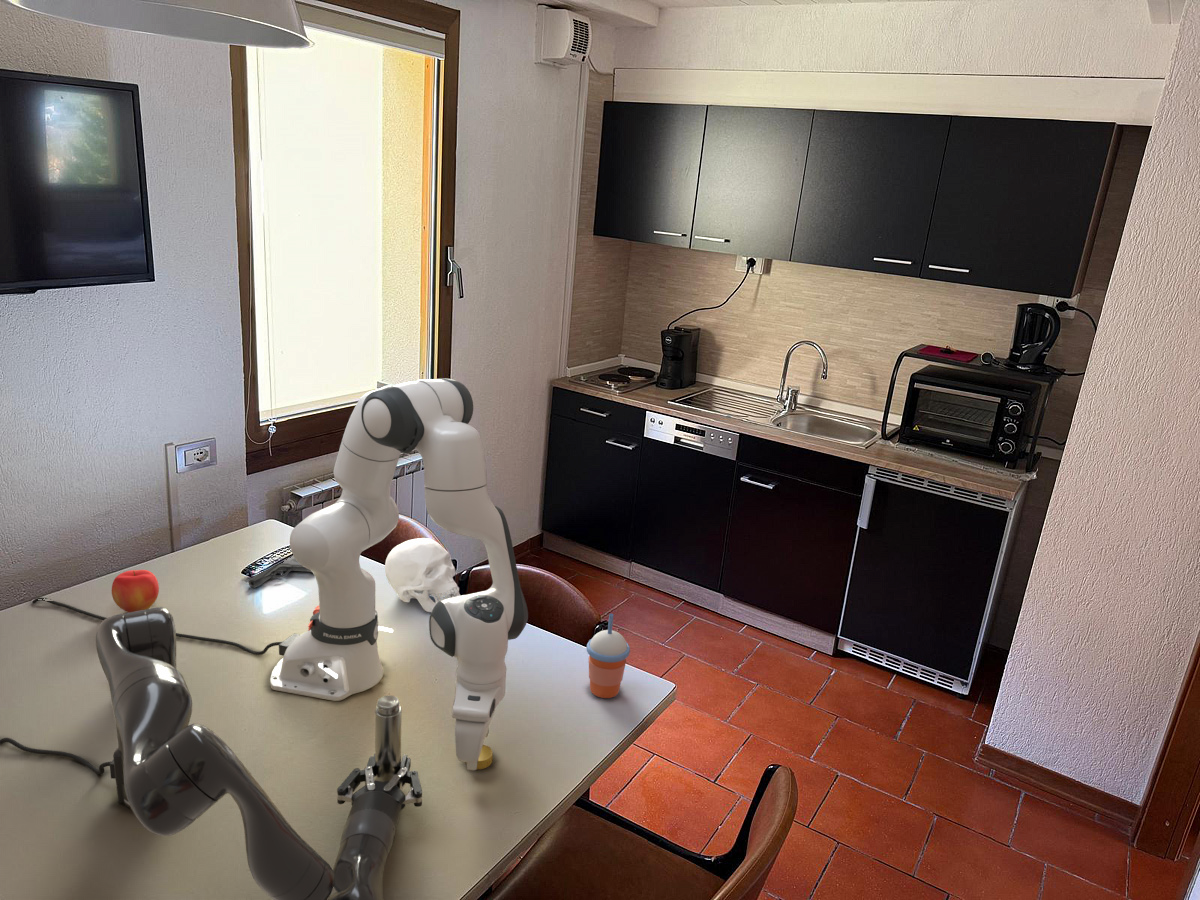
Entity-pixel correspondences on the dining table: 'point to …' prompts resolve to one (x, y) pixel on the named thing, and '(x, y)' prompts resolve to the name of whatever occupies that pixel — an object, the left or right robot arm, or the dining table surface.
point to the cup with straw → (607, 661)
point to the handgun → (277, 571)
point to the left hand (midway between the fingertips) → (390, 758)
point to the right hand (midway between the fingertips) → (478, 750)
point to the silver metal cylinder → (387, 738)
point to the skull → (421, 572)
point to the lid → (485, 757)
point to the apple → (135, 590)
